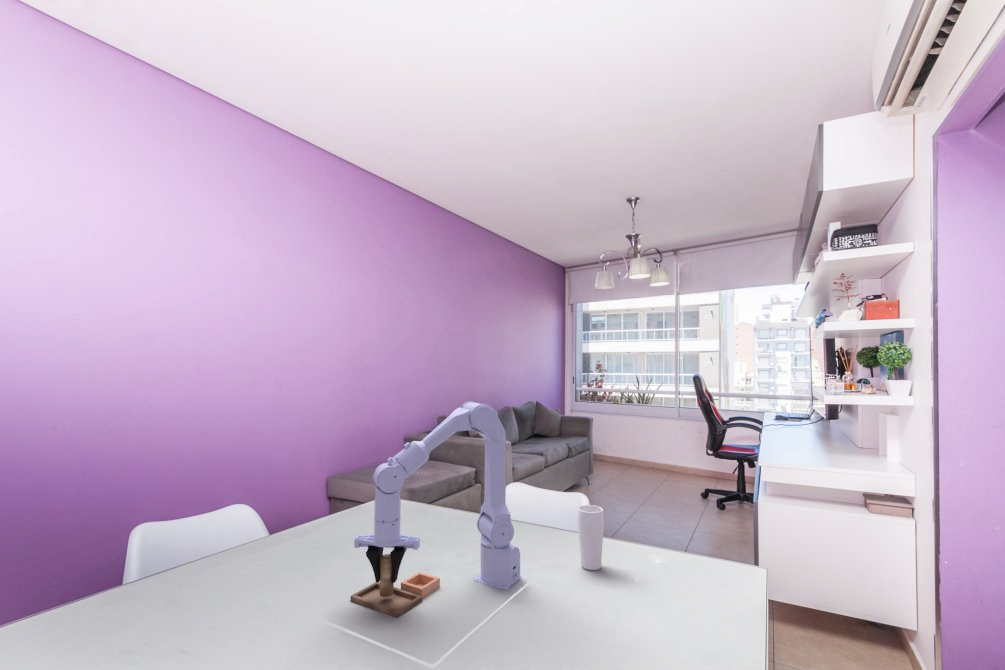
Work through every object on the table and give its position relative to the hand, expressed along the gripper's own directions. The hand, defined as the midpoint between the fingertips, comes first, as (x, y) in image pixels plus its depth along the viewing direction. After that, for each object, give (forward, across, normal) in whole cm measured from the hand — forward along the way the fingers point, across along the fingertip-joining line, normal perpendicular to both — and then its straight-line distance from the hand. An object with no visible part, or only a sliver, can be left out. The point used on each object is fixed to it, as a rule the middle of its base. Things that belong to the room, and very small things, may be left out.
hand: (386, 580), depth 104 cm
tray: (+5, 0, 0) cm, 5 cm away
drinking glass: (+5, -48, -23) cm, 53 cm away
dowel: (+3, 0, 0) cm, 3 cm away
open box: (+5, -6, -6) cm, 10 cm away
